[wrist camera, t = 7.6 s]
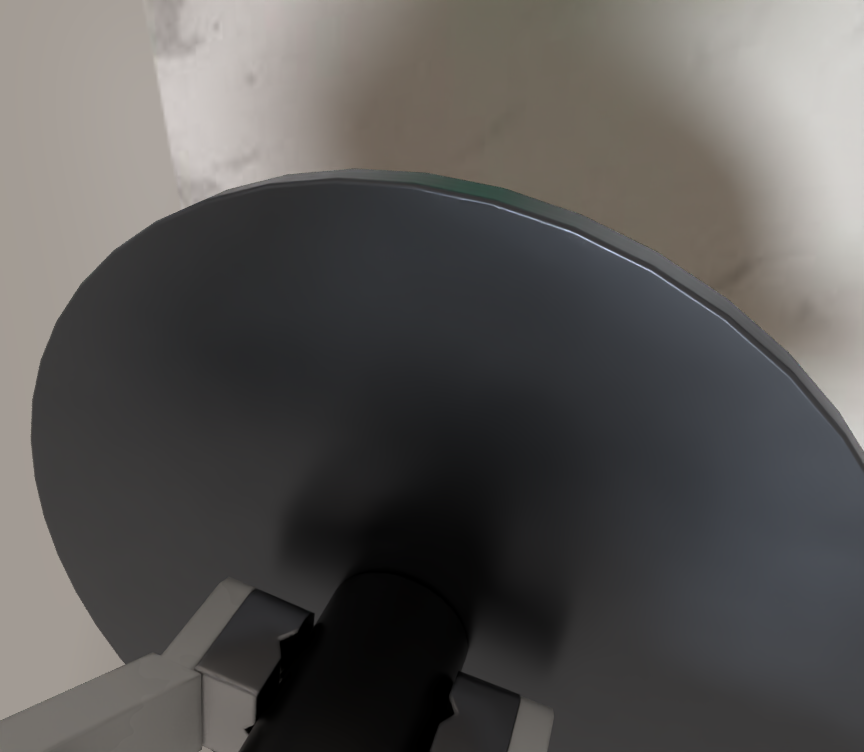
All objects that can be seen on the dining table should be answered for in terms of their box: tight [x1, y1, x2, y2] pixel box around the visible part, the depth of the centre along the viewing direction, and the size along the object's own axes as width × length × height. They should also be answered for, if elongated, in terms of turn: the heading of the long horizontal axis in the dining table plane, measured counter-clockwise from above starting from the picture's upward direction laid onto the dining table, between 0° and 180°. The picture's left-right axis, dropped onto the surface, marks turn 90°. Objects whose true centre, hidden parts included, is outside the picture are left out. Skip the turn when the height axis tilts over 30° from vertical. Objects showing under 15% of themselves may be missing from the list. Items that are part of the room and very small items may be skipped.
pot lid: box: [31, 169, 864, 752], centre depth 11 cm, size 15×15×5 cm
